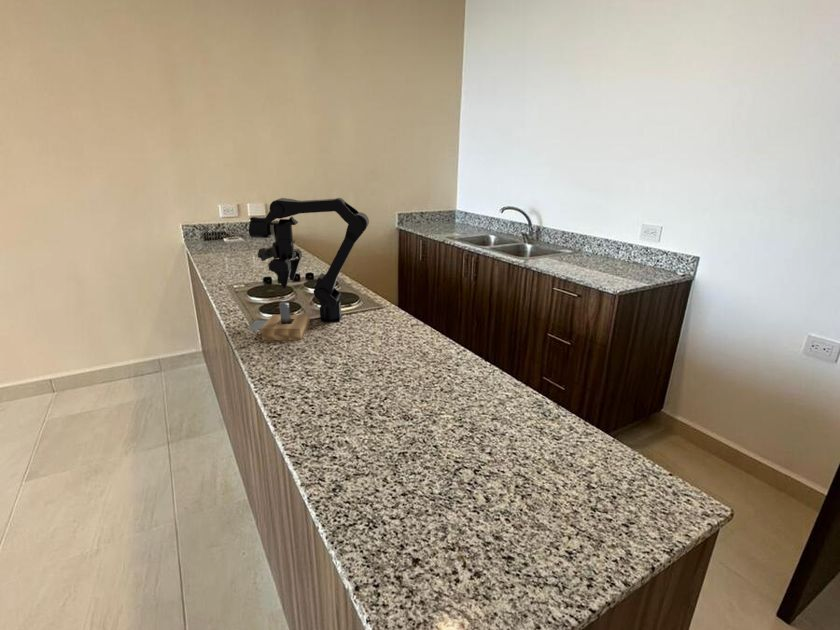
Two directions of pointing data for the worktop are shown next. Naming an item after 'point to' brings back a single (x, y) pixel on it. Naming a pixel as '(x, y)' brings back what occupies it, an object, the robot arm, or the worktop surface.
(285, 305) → the pin
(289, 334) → the socket block
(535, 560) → the worktop surface
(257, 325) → the mat
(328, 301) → the robot arm
